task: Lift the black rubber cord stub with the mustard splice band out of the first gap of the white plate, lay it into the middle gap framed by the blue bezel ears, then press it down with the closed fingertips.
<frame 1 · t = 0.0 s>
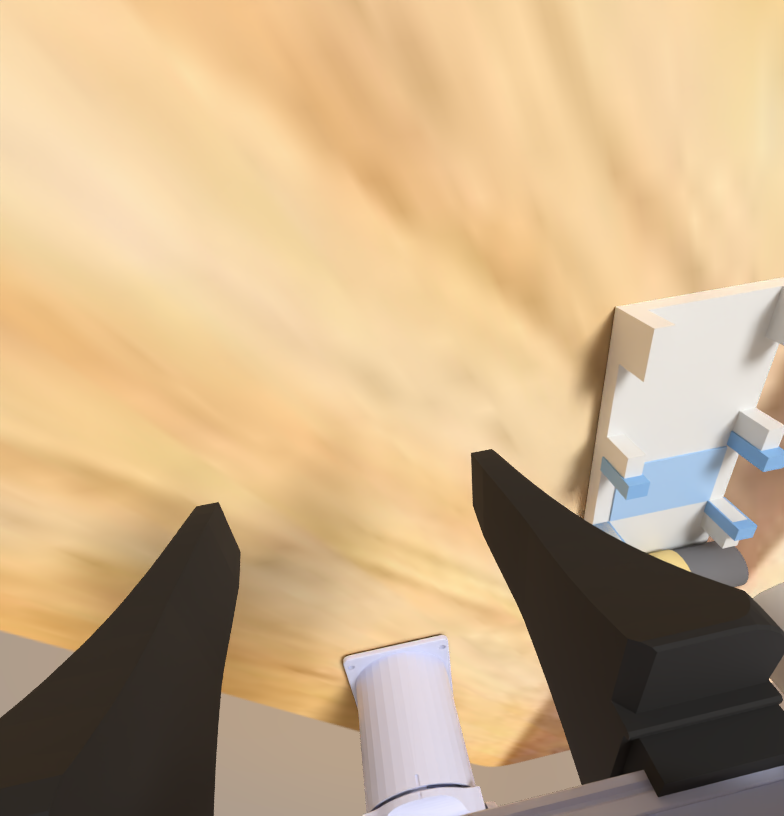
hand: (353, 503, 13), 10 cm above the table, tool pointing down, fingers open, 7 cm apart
cup: (773, 607, 41), on the table
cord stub: (645, 558, 32), point 1 cm above the table, touching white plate
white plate: (655, 474, 29), on the table
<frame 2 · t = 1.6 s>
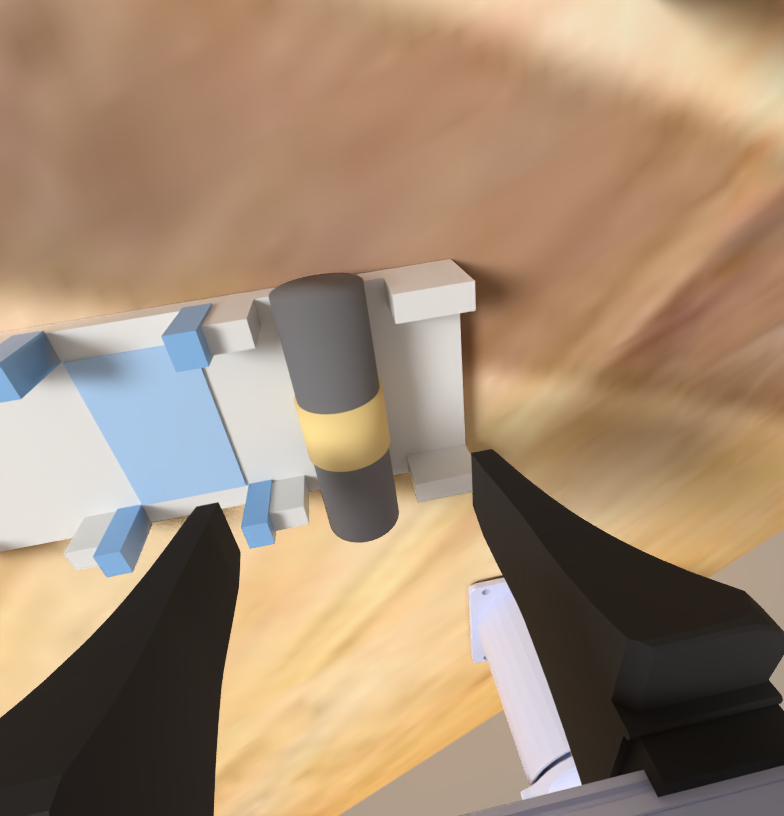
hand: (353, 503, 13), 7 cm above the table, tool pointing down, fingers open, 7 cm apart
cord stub: (341, 397, 18), point 1 cm above the table, touching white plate
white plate: (171, 416, 19), on the table
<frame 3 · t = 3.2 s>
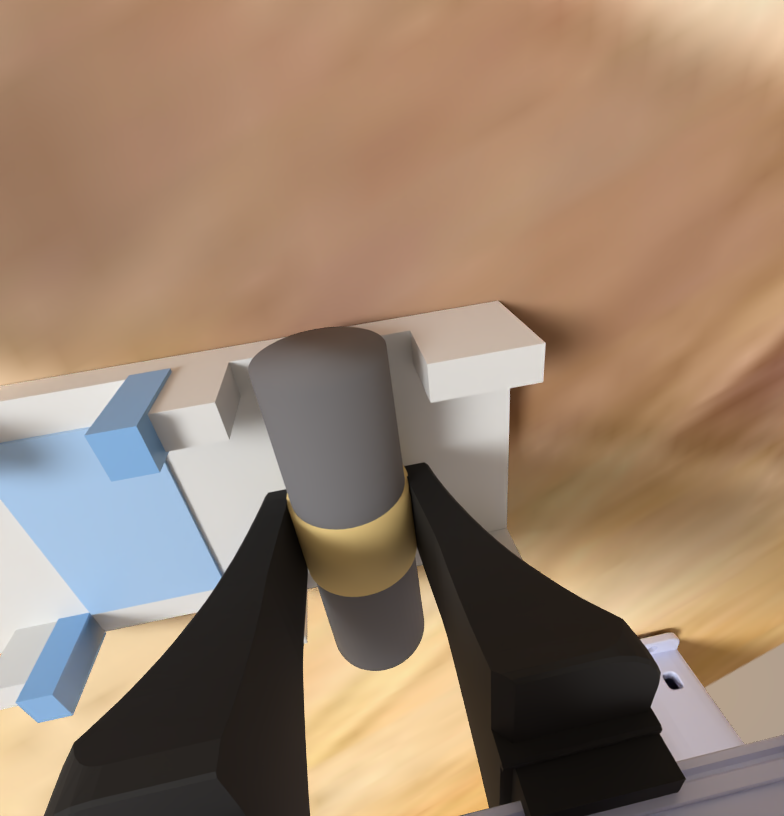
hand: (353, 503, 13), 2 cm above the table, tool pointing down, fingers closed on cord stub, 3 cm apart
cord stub: (350, 480, 14), point 1 cm above the table, touching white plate, gripper
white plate: (126, 502, 14), on the table
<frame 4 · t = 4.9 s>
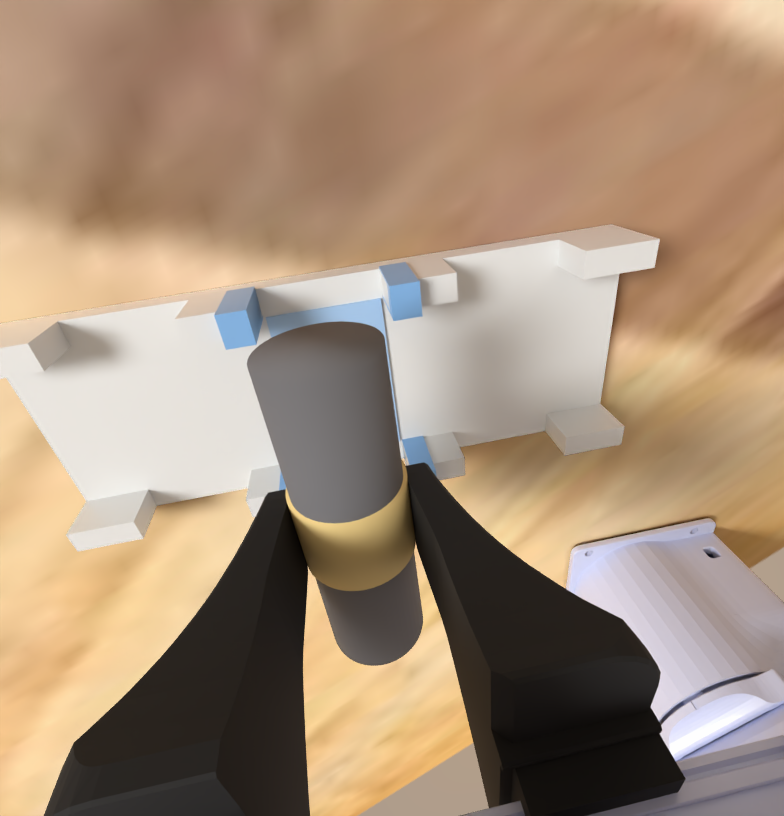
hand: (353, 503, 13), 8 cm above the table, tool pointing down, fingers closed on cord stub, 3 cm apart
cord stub: (350, 475, 14), point 7 cm above the table, touching gripper
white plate: (338, 374, 20), on the table
when the fingers open (3 cm above the table, at t = 6.5 s): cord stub stays where it is, resting on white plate.
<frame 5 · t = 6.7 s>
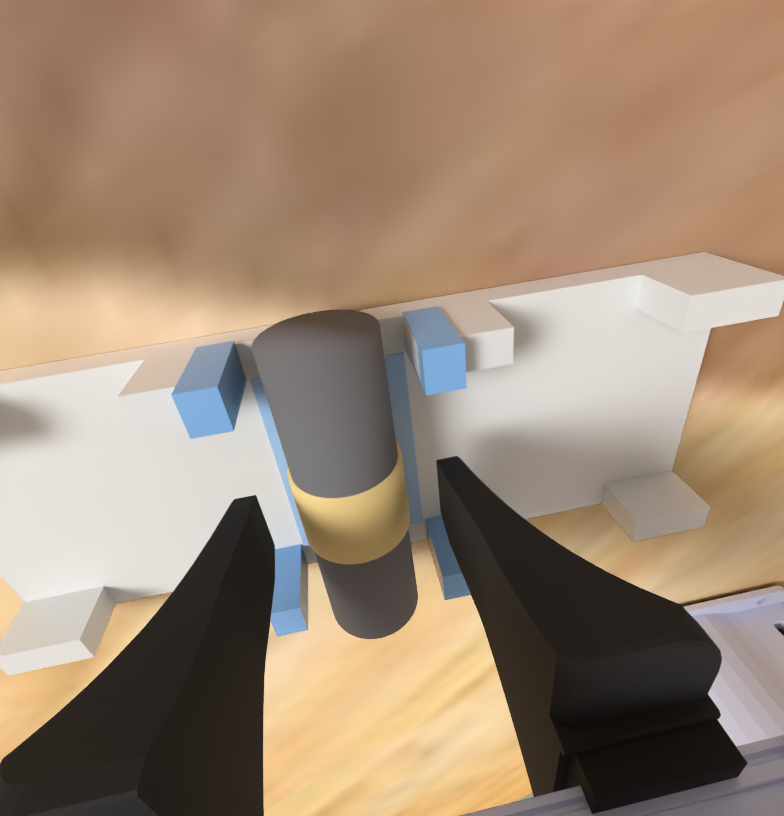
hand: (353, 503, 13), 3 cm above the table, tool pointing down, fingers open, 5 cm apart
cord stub: (348, 458, 15), point 1 cm above the table, touching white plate
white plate: (345, 440, 16), on the table
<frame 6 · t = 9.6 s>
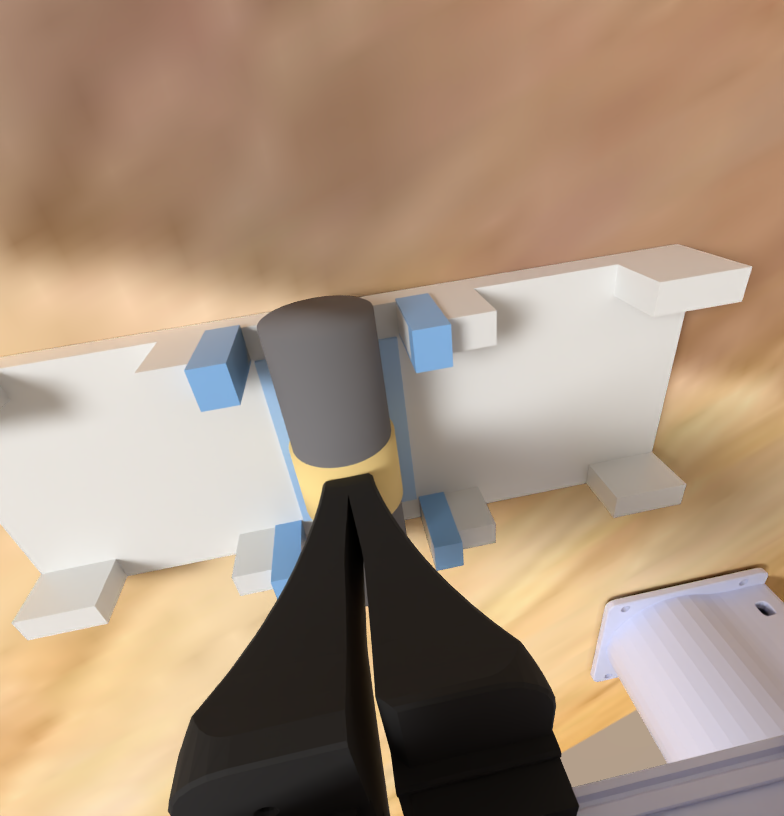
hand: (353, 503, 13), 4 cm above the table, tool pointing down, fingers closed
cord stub: (345, 437, 16), point 1 cm above the table, touching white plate
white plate: (343, 422, 17), on the table
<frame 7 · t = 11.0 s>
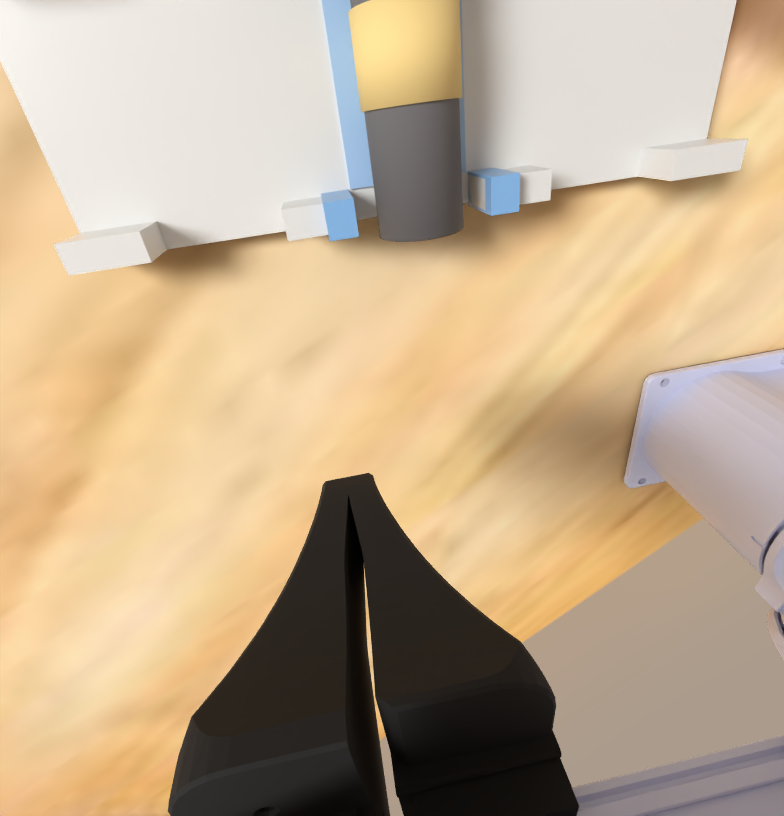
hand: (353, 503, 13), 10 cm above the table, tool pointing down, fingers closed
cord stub: (399, 64, 15), point 1 cm above the table, touching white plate
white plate: (393, 71, 16), on the table
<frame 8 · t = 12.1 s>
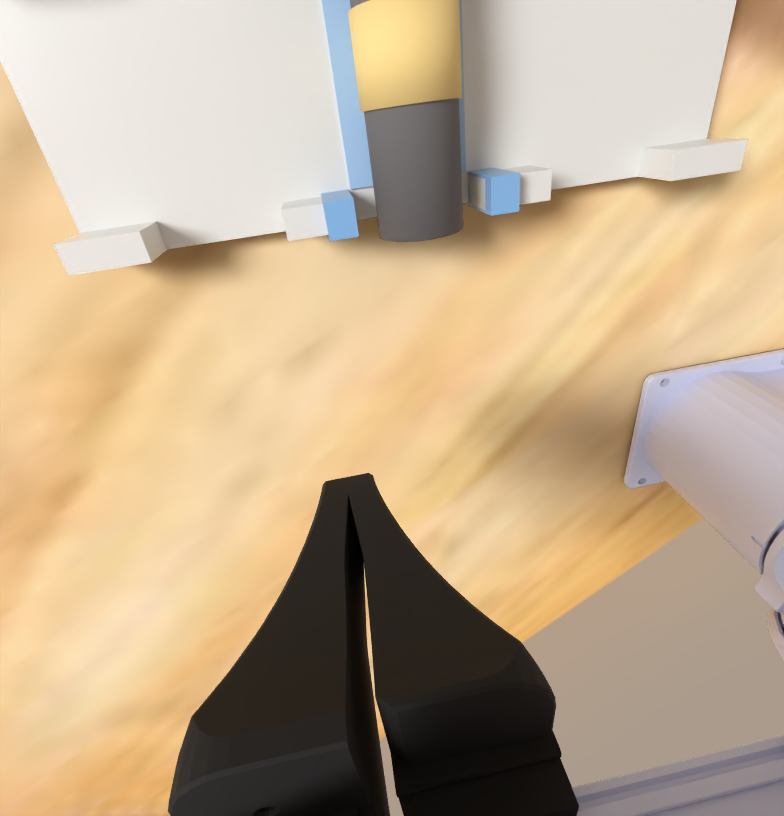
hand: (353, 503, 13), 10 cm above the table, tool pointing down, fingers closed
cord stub: (399, 64, 15), point 1 cm above the table, touching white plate
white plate: (393, 71, 16), on the table
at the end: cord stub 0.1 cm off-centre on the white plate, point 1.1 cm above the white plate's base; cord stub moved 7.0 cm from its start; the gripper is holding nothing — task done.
